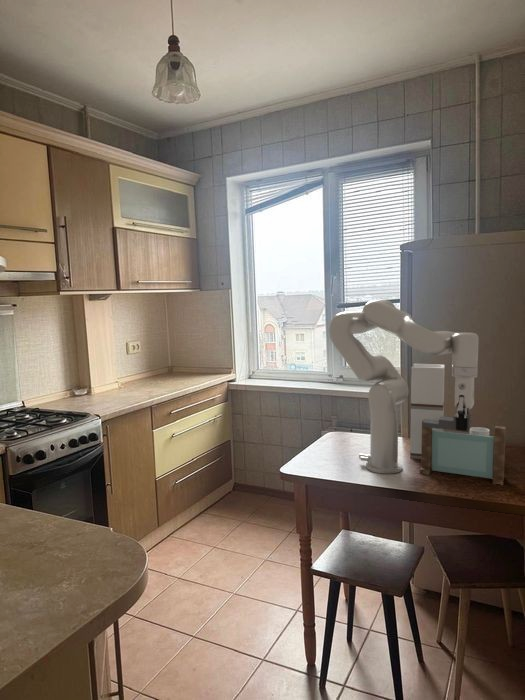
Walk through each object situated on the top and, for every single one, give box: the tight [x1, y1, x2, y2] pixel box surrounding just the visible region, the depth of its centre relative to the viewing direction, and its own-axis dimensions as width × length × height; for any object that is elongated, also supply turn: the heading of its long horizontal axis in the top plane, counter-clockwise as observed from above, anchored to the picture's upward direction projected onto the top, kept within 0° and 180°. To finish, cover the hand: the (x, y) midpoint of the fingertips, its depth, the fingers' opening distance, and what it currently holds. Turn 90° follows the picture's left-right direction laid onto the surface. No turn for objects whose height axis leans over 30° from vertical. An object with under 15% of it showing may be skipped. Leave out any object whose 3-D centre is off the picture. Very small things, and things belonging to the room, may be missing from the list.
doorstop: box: [422, 412, 472, 433], centre depth 161 cm, size 5×14×4 cm, turn 62°
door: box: [431, 430, 495, 480], centre depth 170 cm, size 19×1×14 cm, turn 62°
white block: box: [409, 363, 446, 460], centre depth 191 cm, size 11×11×35 cm
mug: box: [469, 426, 490, 436], centre depth 186 cm, size 10×7×12 cm, turn 131°
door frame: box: [419, 419, 506, 486], centre depth 169 cm, size 26×8×18 cm, turn 62°
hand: (462, 427), depth 159 cm, fingers closed on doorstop, 5 cm apart
